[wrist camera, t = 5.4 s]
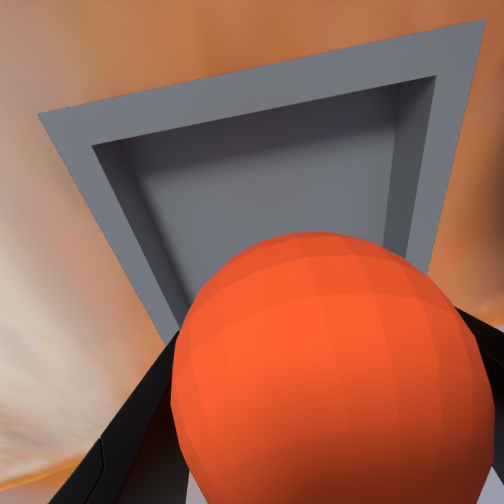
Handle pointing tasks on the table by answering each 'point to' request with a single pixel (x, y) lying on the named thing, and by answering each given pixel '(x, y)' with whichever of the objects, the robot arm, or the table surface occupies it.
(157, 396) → the robot arm
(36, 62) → the table surface
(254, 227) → the tray
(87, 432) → the table surface
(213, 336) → the clementine
